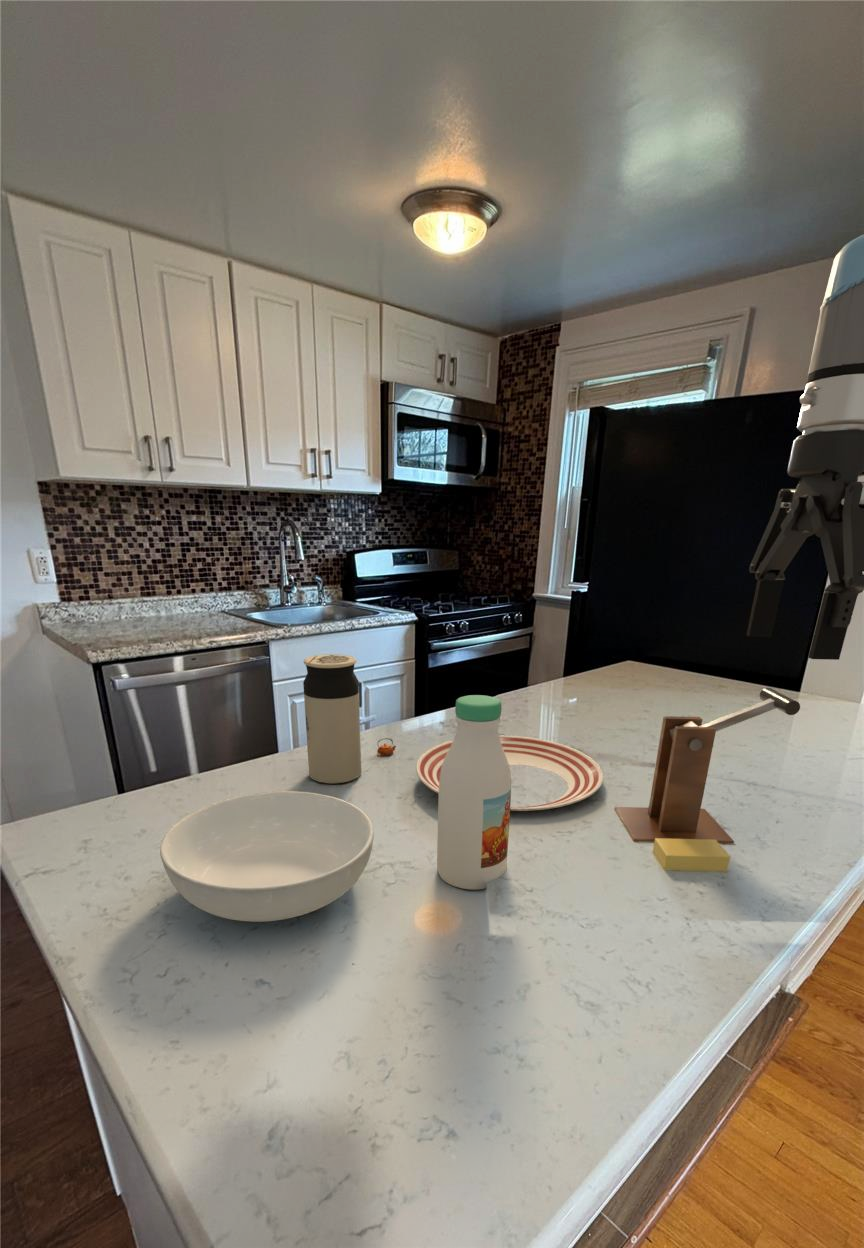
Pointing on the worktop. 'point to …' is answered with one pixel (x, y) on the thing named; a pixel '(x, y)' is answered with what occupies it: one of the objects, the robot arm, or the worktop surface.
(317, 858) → the serving bowl
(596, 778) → the dinner plate
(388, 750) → the teapot
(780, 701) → the metal lever handle
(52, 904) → the worktop surface
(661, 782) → the brown lever stand
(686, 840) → the butter
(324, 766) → the travel mug
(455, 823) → the milk bottle
